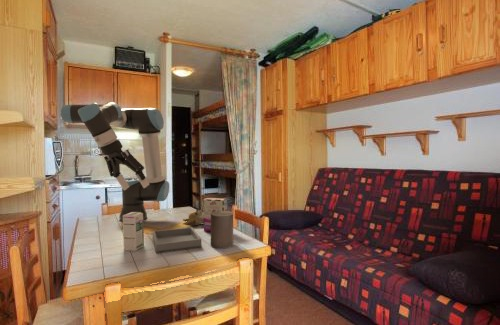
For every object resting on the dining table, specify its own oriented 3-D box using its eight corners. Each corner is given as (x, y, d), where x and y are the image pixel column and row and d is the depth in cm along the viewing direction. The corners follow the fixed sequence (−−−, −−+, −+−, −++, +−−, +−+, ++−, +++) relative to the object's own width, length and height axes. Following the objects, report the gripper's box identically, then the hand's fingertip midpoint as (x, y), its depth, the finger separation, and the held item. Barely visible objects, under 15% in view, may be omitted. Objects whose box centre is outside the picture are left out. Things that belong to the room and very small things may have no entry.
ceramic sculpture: (210, 209, 149) (182, 213, 146) (212, 225, 150) (183, 229, 146) (208, 206, 160) (181, 209, 156) (209, 221, 160) (183, 224, 156)
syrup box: (136, 251, 112) (135, 215, 112) (123, 250, 113) (122, 214, 113) (144, 246, 118) (143, 212, 117) (131, 245, 119) (131, 211, 118)
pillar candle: (206, 244, 121) (206, 209, 120) (225, 239, 127) (224, 206, 126) (219, 250, 113) (218, 213, 113) (238, 245, 119) (238, 210, 119)
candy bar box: (227, 230, 141) (227, 198, 140) (223, 233, 136) (223, 200, 136) (207, 228, 145) (207, 197, 144) (203, 231, 140) (203, 198, 139)
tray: (152, 238, 128) (152, 231, 128) (192, 234, 135) (192, 227, 135) (156, 253, 110) (155, 244, 109) (201, 247, 117) (201, 239, 116)
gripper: (84, 151, 113) (112, 194, 121) (119, 141, 100) (149, 190, 107) (99, 143, 119) (125, 184, 127) (135, 132, 105) (161, 180, 113)
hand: (136, 187), depth 117 cm, fingers open, 13 cm apart
